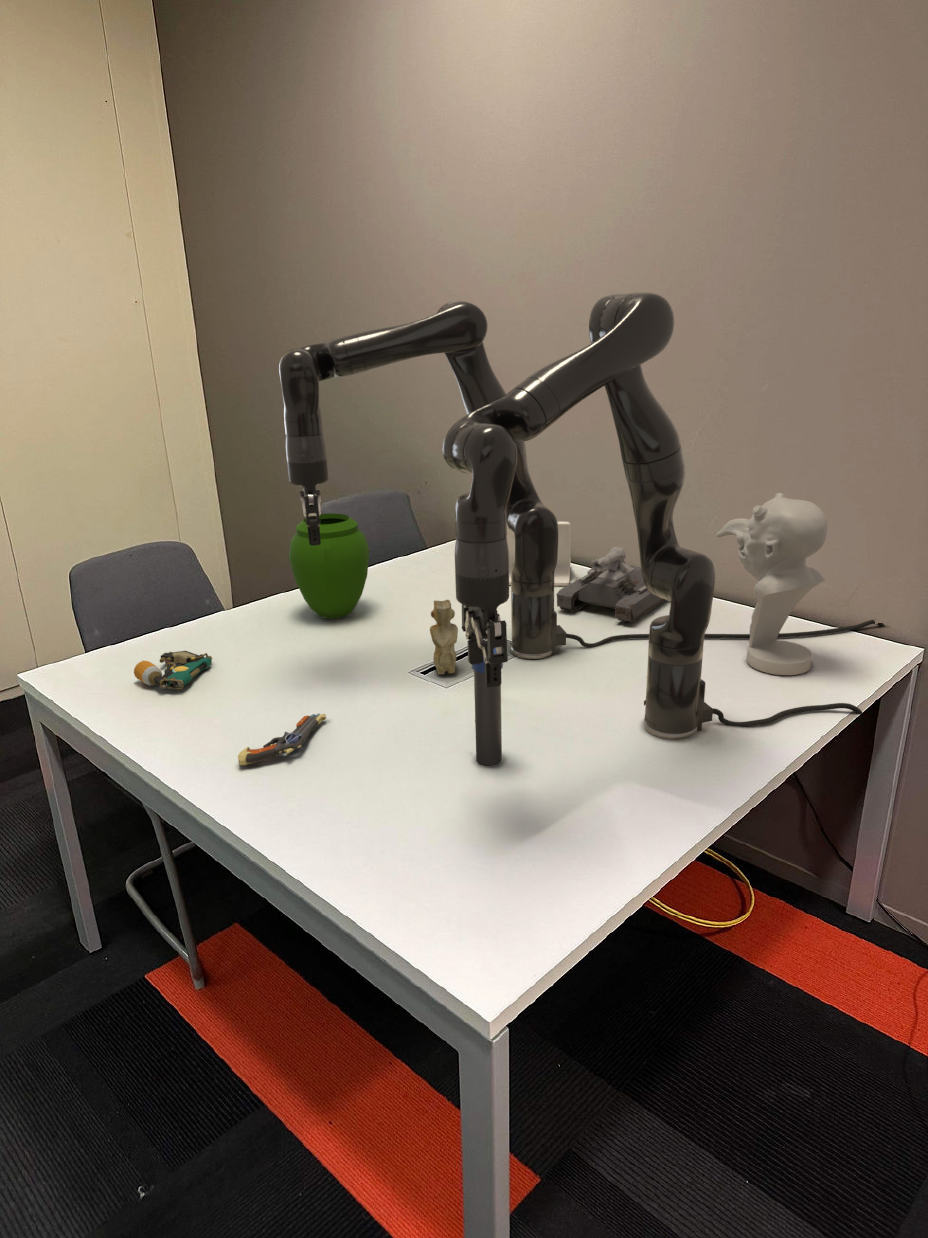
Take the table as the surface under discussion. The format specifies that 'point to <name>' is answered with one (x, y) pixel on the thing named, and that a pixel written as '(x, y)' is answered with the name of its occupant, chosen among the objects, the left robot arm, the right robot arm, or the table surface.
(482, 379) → the left robot arm
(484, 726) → the dark grey capped cylinder
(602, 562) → the toy
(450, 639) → the sculpture
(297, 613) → the table surface
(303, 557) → the vase
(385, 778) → the table surface
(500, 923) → the table surface
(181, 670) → the spray gun
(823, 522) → the bust sculpture
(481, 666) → the lid
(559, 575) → the tablet stand
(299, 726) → the toy gun
